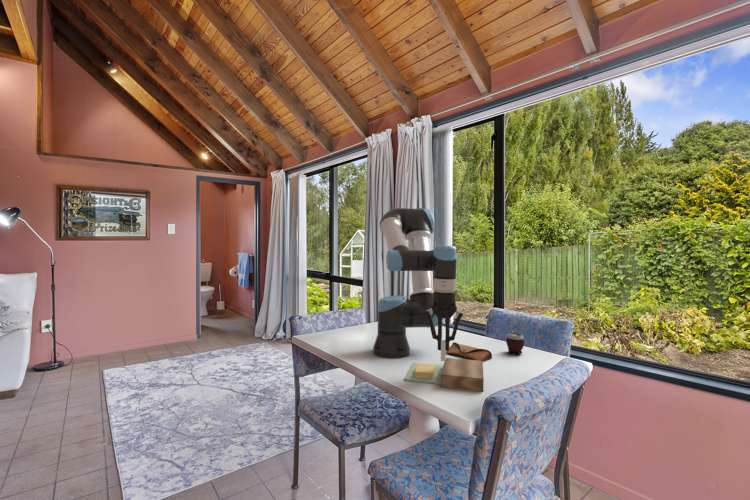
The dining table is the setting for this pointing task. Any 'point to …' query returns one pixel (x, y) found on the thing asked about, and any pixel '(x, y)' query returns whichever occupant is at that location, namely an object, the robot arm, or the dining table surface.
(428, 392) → the dining table surface
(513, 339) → the mate gourd
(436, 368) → the mat
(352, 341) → the dining table surface
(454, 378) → the brown piece
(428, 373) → the yellow rectangular block
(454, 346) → the sunglasses case
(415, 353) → the dining table surface
